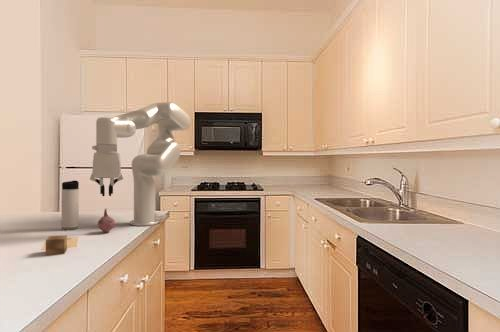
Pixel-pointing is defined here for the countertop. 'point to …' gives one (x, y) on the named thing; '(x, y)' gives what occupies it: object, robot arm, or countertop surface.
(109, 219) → the vegetable
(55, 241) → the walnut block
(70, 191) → the travel mug
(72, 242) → the letter
